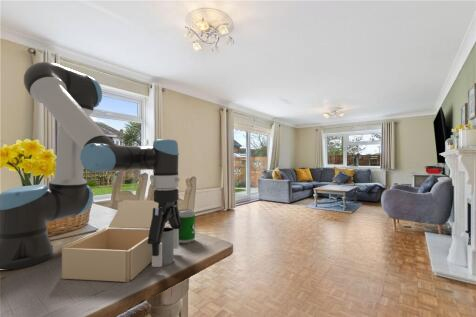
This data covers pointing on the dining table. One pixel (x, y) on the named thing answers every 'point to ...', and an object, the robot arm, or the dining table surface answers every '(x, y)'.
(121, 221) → the flap
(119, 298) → the dining table surface
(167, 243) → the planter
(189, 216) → the soda can
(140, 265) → the carton
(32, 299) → the dining table surface
